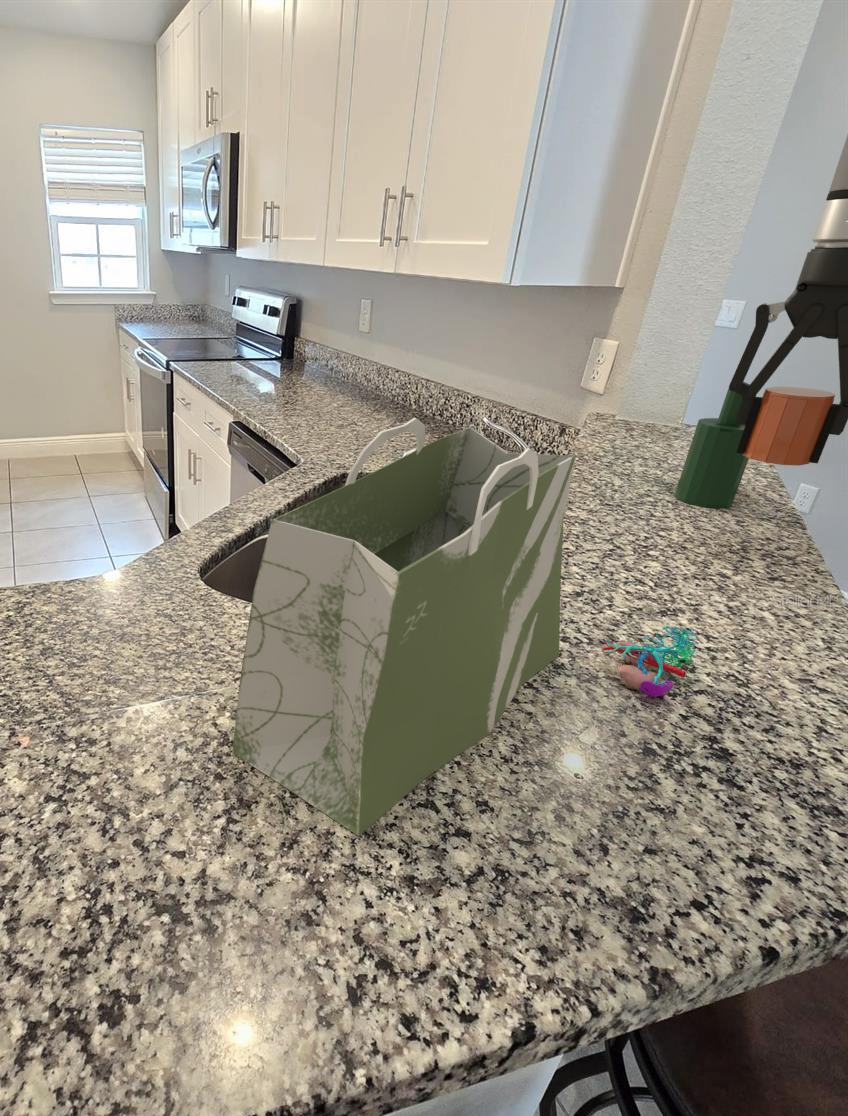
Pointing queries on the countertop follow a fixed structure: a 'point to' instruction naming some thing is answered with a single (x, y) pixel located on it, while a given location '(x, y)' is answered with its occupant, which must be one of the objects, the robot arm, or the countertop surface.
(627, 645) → the anatomy model
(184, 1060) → the countertop surface
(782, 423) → the orange octagonal cylinder
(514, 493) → the grocery bag
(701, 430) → the bottle
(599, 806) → the countertop surface
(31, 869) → the countertop surface
